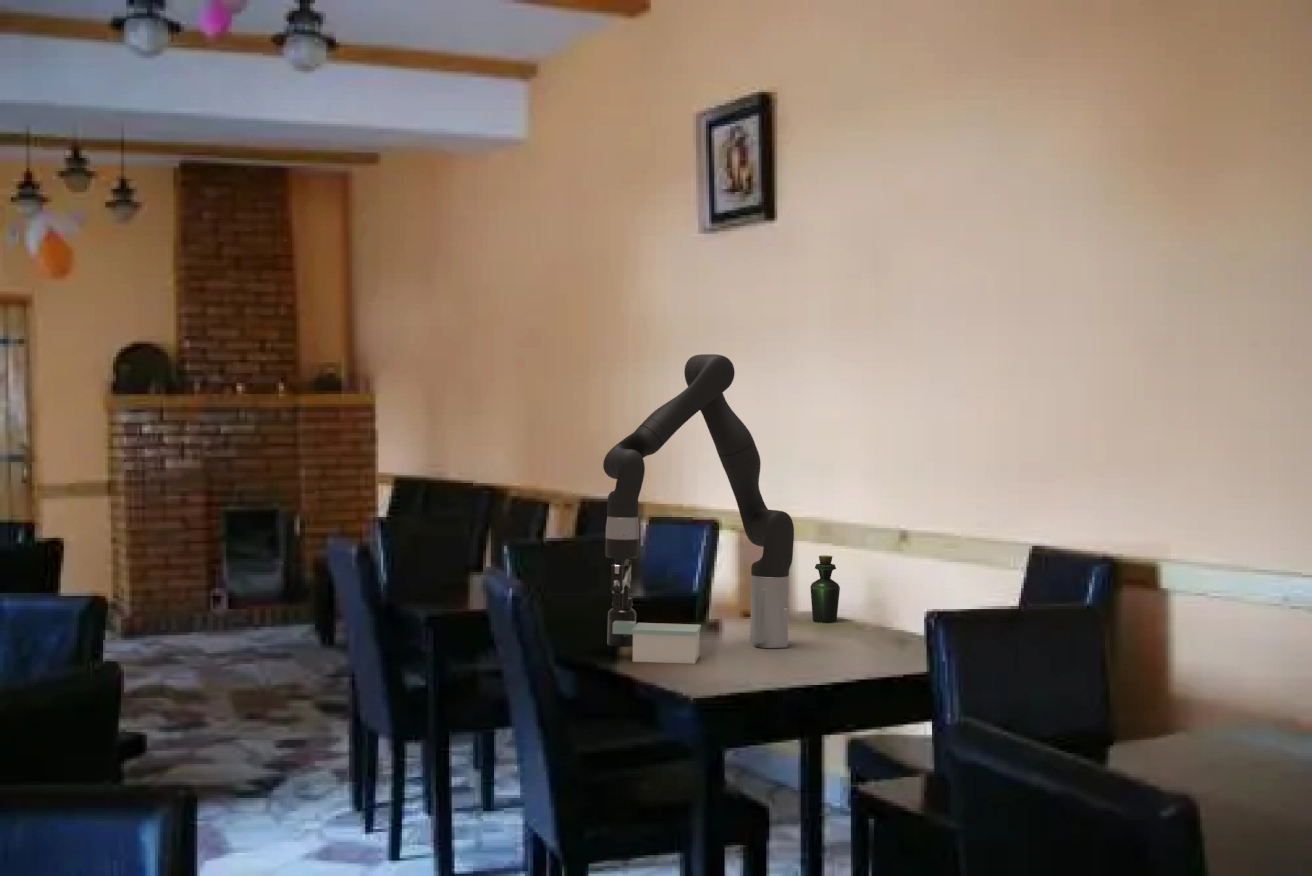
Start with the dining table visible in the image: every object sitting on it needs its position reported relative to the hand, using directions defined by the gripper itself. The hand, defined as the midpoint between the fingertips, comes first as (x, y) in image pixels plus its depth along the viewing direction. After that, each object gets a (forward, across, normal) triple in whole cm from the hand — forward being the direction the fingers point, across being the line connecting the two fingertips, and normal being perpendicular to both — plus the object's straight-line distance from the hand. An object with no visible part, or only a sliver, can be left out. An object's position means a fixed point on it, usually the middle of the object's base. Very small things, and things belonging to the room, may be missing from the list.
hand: (620, 607), depth 315 cm
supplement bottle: (+12, +18, +2) cm, 22 cm away
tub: (+12, 0, -11) cm, 16 cm away
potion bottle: (+11, +73, -46) cm, 87 cm away
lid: (+6, 0, -8) cm, 10 cm away
